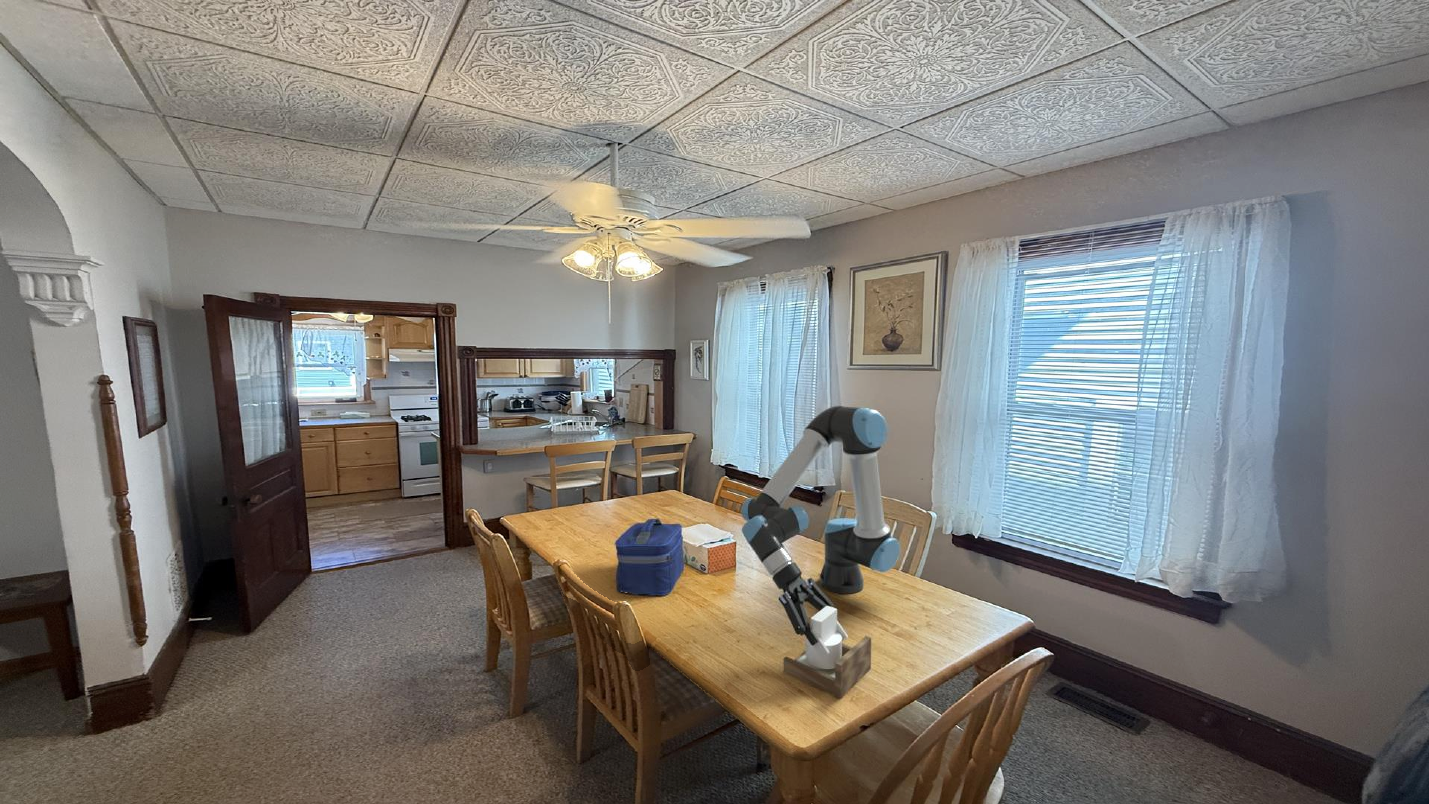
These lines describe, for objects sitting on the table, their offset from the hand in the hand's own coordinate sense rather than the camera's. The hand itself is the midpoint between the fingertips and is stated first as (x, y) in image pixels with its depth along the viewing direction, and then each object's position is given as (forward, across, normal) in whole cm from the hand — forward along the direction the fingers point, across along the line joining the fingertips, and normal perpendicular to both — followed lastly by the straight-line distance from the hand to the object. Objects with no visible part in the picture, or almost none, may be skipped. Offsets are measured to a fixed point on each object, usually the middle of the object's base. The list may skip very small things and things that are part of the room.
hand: (835, 647), depth 131 cm
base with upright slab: (+1, 0, -6) cm, 6 cm away
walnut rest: (+3, 0, -6) cm, 7 cm away
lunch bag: (-50, -8, -61) cm, 79 cm away
